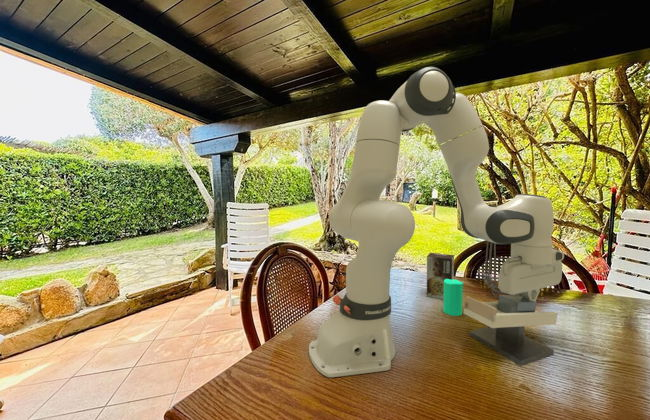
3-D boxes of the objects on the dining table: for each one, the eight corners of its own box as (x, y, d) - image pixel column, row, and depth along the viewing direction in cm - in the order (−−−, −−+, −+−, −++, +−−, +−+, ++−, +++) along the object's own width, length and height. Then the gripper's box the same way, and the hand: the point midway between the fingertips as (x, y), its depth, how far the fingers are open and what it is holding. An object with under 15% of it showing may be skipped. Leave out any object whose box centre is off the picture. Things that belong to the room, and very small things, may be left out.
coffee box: (453, 295, 104) (455, 254, 102) (451, 301, 98) (452, 258, 97) (429, 291, 109) (430, 252, 107) (425, 296, 103) (426, 255, 102)
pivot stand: (520, 365, 62) (521, 339, 62) (469, 335, 76) (470, 313, 75) (553, 354, 66) (555, 329, 66) (499, 327, 80) (500, 306, 79)
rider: (516, 317, 67) (518, 302, 67) (497, 309, 72) (499, 295, 72) (534, 317, 70) (536, 302, 70) (514, 309, 74) (516, 295, 74)
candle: (464, 316, 87) (466, 280, 86) (445, 315, 88) (446, 279, 87) (459, 308, 92) (460, 274, 91) (441, 307, 94) (441, 273, 93)
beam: (491, 328, 63) (494, 309, 62) (463, 313, 70) (466, 296, 70) (555, 324, 71) (558, 307, 71) (524, 311, 78) (526, 296, 78)
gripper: (516, 261, 65) (514, 316, 66) (568, 252, 72) (566, 302, 73) (492, 256, 71) (491, 306, 72) (542, 248, 78) (541, 294, 79)
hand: (529, 304), depth 73 cm, fingers closed
